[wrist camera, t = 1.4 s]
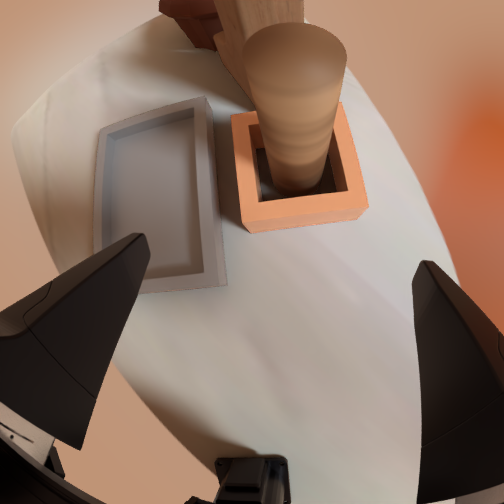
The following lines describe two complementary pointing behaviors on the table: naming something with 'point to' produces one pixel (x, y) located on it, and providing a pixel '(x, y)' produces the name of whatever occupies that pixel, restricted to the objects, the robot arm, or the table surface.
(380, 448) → the table surface
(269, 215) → the orange square ring
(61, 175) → the table surface
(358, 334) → the table surface
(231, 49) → the wooden block
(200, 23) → the muffin
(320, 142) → the dowel pin
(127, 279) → the robot arm
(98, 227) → the tray
